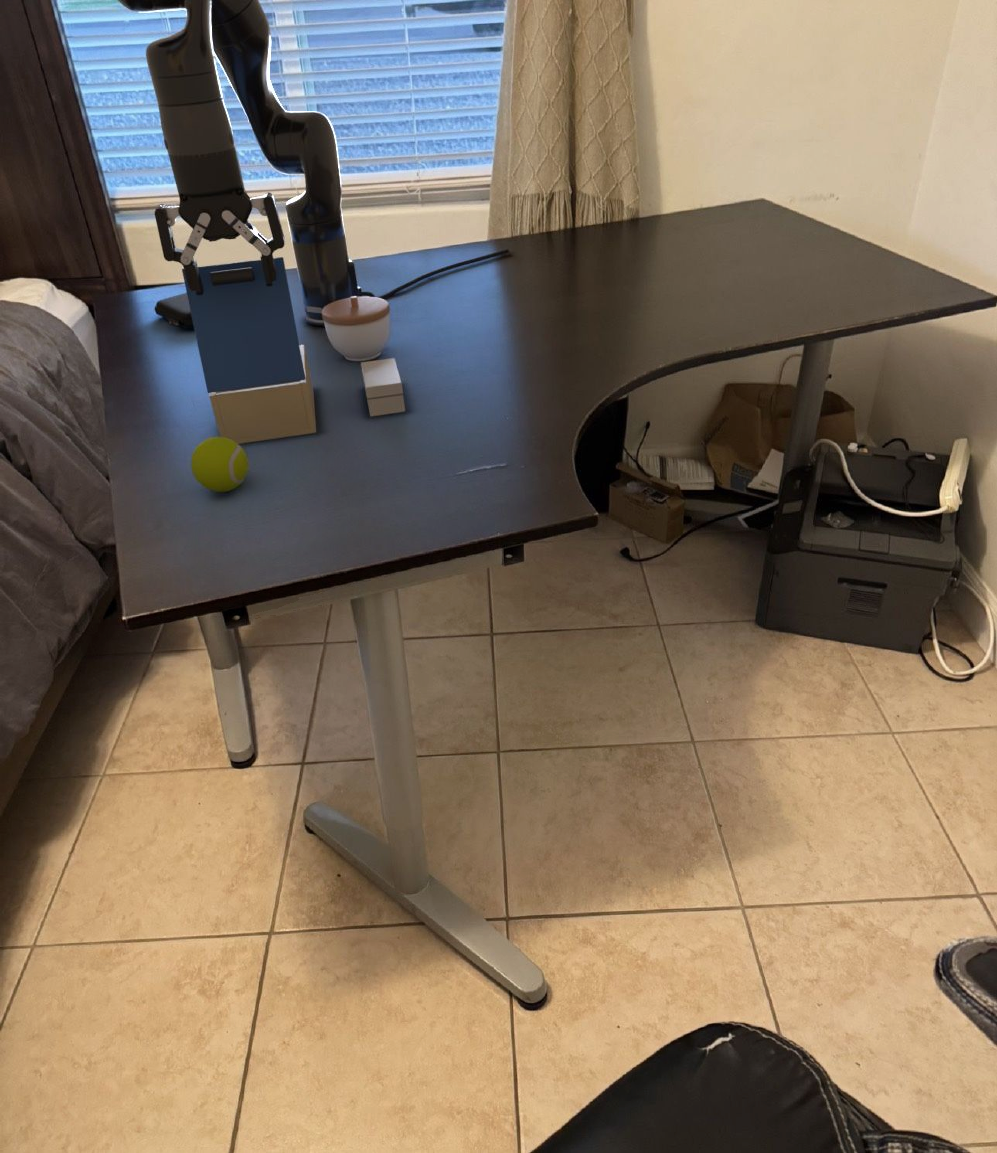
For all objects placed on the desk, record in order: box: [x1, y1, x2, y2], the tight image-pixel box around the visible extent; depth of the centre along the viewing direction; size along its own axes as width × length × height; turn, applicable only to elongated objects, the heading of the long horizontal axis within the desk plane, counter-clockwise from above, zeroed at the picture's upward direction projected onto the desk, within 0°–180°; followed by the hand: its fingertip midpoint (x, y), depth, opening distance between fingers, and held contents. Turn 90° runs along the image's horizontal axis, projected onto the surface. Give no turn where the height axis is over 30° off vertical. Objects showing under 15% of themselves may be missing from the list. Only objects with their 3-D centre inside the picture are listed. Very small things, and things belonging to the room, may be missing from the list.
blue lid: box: [181, 256, 305, 394], centre depth 110 cm, size 15×13×5 cm
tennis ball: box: [190, 436, 249, 493], centre depth 106 cm, size 7×7×7 cm
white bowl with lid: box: [322, 296, 392, 362], centre depth 139 cm, size 11×11×9 cm
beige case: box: [360, 357, 406, 418], centre depth 125 cm, size 10×5×4 cm, turn 11°
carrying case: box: [154, 292, 194, 330], centre depth 161 cm, size 11×3×15 cm
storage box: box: [208, 344, 317, 445], centre depth 122 cm, size 15×13×7 cm
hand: (235, 289), depth 108 cm, fingers open, 8 cm apart
